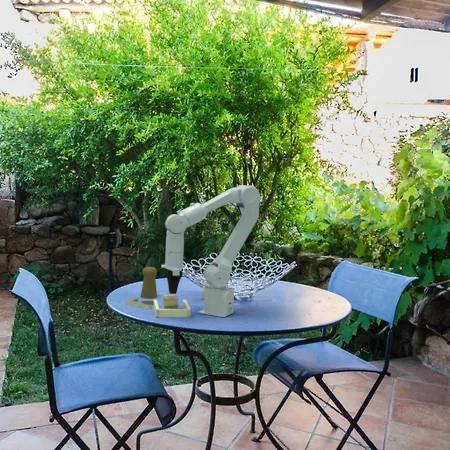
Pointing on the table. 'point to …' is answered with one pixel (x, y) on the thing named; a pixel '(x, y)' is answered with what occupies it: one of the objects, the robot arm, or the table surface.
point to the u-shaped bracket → (172, 311)
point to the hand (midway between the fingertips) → (172, 293)
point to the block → (170, 302)
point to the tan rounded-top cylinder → (203, 291)
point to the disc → (148, 302)
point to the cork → (149, 283)
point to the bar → (137, 303)
